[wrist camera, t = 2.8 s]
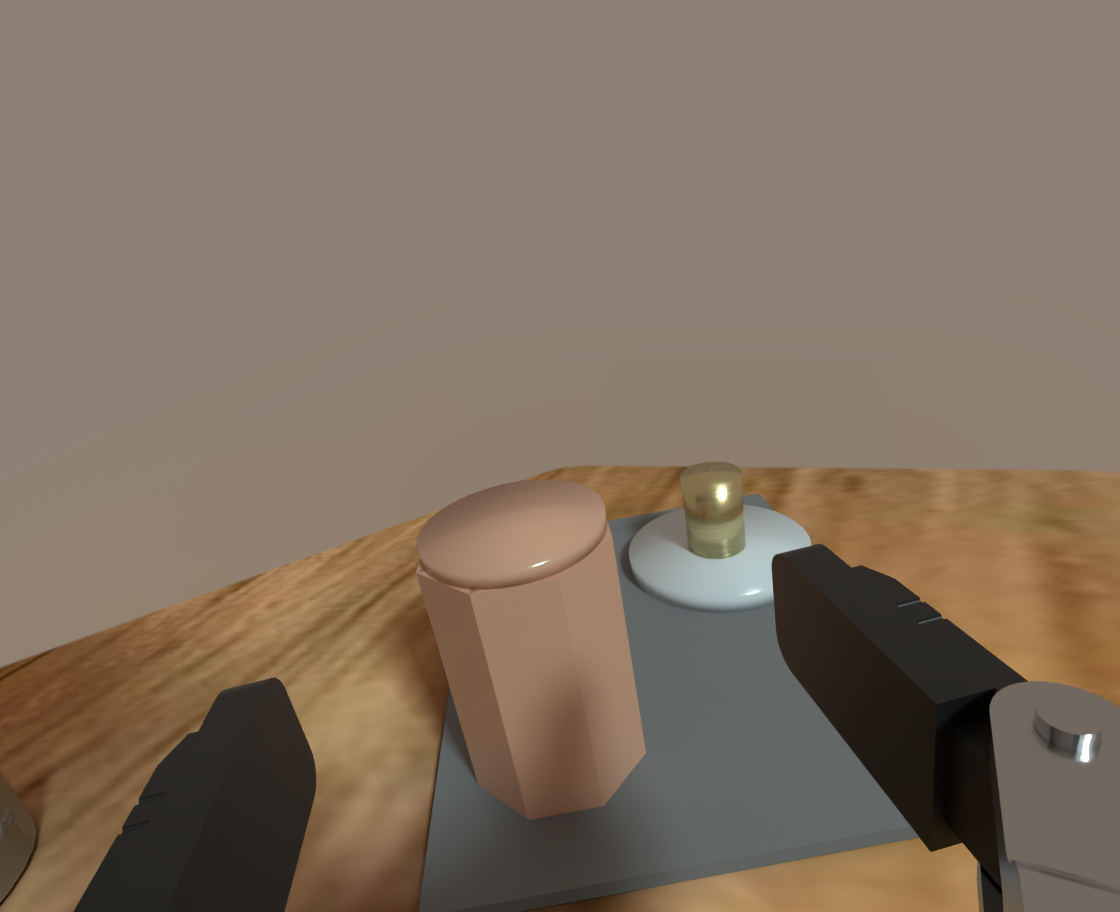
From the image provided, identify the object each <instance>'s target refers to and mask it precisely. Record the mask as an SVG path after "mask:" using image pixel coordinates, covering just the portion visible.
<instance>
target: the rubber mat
mask: <svg viewBox="0 0 1120 912" xmlns="http://www.w3.org/2000/svg"><path fill="white" fill-rule="evenodd" d="M743 505H751V506H757V507H761V508H765V509H769V510H772V511H774V510H773V509H772V508H771V507H770V506H769V505H768V503H767V502H766V501H765V500H764V499H763V498H762V497H761V496H760V495H759V494H753V495H748V496H743ZM683 508H684V507H683ZM683 508H677V509H672V510H667V511H661V512H656V513H650V514H645V515H639V516H634V517H629V518H623V519H618V520H612V521H607V522H608V525H609V528H610V531H611V534H612V538H613V545H614V551H615V557H616V564H617V570H618V576H619V583H620V589H621V596H622V602H623V608H624V615H625V621H626V628H627V634H628V640H629V647H630V653H631V659H632V666H633V672H634V679H635V685H636V691H637V698H638V704H639V711H640V717H641V723H642V730H643V736H644V743H645V749H646V754H645V755H644V756H643V757H642V759H641V760H640V761H639V762H638V764H637V765H636V766H635V767H634V769H633V770H632V771H631V772H630V774H629V775H628V776H627V777H626V779H625V780H624V781H623V782H622V784H621V785H620V786H619V787H618V789H617V790H616V791H615V792H614V794H613V795H612V796H611V797H610V799H609V800H608V801H607V802H606V804H605V805H604V806H601V807H595V808H590V809H585V810H579V811H574V812H568V813H563V814H558V815H552V816H547V817H542V818H536V819H531V820H528V819H526V818H525V817H524V816H522V815H521V814H519V813H518V812H517V811H515V810H514V809H512V808H511V807H510V806H508V805H507V804H505V803H504V802H503V801H501V800H500V799H498V798H497V797H496V796H494V795H493V794H491V793H490V792H489V791H487V790H486V789H484V788H483V787H482V786H480V785H479V784H478V782H477V779H476V775H475V772H474V768H473V765H472V762H471V758H470V755H469V751H468V748H467V745H466V741H465V738H464V734H463V731H462V728H461V724H460V721H459V717H458V714H457V711H456V707H455V704H454V700H453V697H452V694H451V690H450V687H449V694H448V701H447V708H446V716H445V723H444V730H443V737H442V744H441V752H440V759H439V766H438V773H437V780H436V787H435V795H434V802H433V809H432V816H431V823H430V830H429V838H428V845H427V852H426V859H425V866H424V874H423V881H422V888H421V895H420V902H419V909H418V912H521V911H527V910H532V909H537V908H543V907H548V906H554V905H559V904H564V903H570V902H575V901H580V900H586V899H591V898H596V897H602V896H607V895H612V894H618V893H623V892H628V891H634V890H639V889H644V888H650V887H655V886H661V885H666V884H671V883H677V882H682V881H687V880H693V879H698V878H703V877H709V876H714V875H719V874H725V873H730V872H735V871H741V870H746V869H751V868H757V867H762V866H768V865H773V864H778V863H784V862H789V861H794V860H800V859H805V858H810V857H816V856H821V855H826V854H832V853H837V852H842V851H848V850H853V849H858V848H864V847H869V846H875V845H880V844H885V843H891V842H896V841H901V840H907V839H912V838H917V837H919V836H918V835H917V834H916V832H915V831H914V830H913V828H912V827H911V826H910V825H909V823H908V822H907V821H906V819H905V818H904V817H903V815H902V814H901V813H900V812H899V810H898V809H897V808H896V806H895V805H894V804H893V803H892V801H891V800H890V799H889V797H888V796H887V795H886V794H885V792H884V791H883V790H882V788H881V787H880V786H879V785H878V783H877V782H876V781H875V779H874V778H873V777H872V775H871V774H870V773H869V772H868V770H867V769H866V768H865V766H864V765H863V764H862V763H861V761H860V760H859V759H858V757H857V756H856V755H855V754H854V752H853V751H852V750H851V748H850V747H849V746H848V745H847V743H846V742H845V741H844V739H843V738H842V737H841V735H840V734H839V733H838V732H837V730H836V729H835V728H834V726H833V725H832V724H831V723H830V721H829V720H828V719H827V717H826V716H825V715H824V714H823V712H822V711H821V710H820V708H819V707H818V706H817V705H816V703H815V702H814V701H813V699H812V698H811V697H810V695H809V694H808V693H807V692H806V690H805V689H804V688H803V686H802V685H801V684H800V683H799V681H798V680H797V679H796V677H795V676H794V675H793V674H792V672H791V671H790V669H789V668H788V666H787V664H786V662H785V660H784V658H783V656H782V653H781V650H780V647H779V644H778V640H777V635H776V624H775V610H774V603H773V604H770V605H767V606H763V607H760V608H756V609H751V610H746V611H739V612H727V613H708V612H698V611H691V610H686V609H681V608H678V607H674V606H671V605H668V604H666V603H663V602H661V601H659V600H657V599H655V598H653V597H651V596H650V595H649V594H647V593H646V592H645V591H643V590H642V589H641V588H640V587H639V585H638V584H637V583H636V581H635V580H634V578H633V575H632V571H631V565H630V558H629V547H630V543H631V541H632V539H633V537H634V536H635V535H636V534H637V532H638V531H639V530H640V529H641V528H643V527H644V526H645V525H646V524H648V523H649V522H651V521H653V520H654V519H656V518H658V517H660V516H663V515H665V514H667V513H670V512H673V511H676V510H680V509H683Z"/></svg>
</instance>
